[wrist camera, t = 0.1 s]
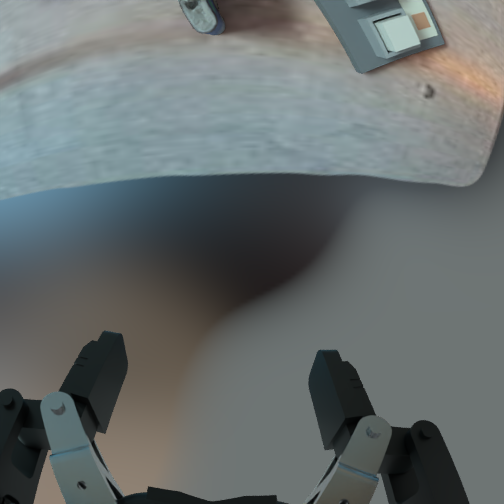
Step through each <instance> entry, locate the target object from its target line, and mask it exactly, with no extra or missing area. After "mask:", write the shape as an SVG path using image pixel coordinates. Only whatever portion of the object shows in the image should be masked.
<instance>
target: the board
mask: <svg viewBox="0 0 504 504" xmlns="http://www.w3.org/2000/svg"><path fill="white" fill-rule="evenodd" d="M314 1H315V3H316V4H317V6H318V7H319V8H320V10H321V11H322V13H323V15H324V16H325V18H326V19H327V21H328V22H329V24H330V25H331V27H332V29H333V30H334V32H335V34H336V35H337V37H338V39H339V40H340V42H341V44H342V46H343V47H344V49H345V51H346V53H347V55H348V56H349V58H350V60H351V62H352V64H353V66H354V68H355V70H356V72H359V73H361V74H362V73H365V72H367V71H370V70H372V69H374V68H377V67H379V66H382V65H385V64H387V63H390V62H392V61H395V60H398V59H400V58H403V57H406V56H409V55H412V54H415V53H418V52H421V51H424V50H427V49H430V48H433V47H436V46H440V45H443V44H445V43H444V41H443V38H442V35H441V33H440V31H439V28H438V26H437V23H436V21H435V19H434V17H433V14H432V12H431V10H430V8H429V6H428V4H427V2H426V0H314ZM395 15H408V17H409V19H410V21H411V23H412V25H413V27H414V30H415V32H416V34H417V36H418V38H419V41H420V43H421V44H418V45H415V46H412V47H409V48H406V49H403V50H400V51H398V52H394V51H389V50H386V48H385V45H384V43H383V41H382V39H381V37H380V35H379V33H378V32H377V30H376V28H375V26H374V24H373V22H376V21H379V20H382V19H385V18H389V17H392V16H395Z"/></svg>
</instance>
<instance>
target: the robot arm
mask: <svg viewBox="0 0 504 504" xmlns="http://www.w3.org/2000/svg"><path fill="white" fill-rule="evenodd" d="M127 368H128V360H127V356H126V351H125V345H124V340H123V336H122V334H121V333H114V332H110V331H104V332H102V334H101V336H100V338H99V339H98V341H93V340H92V341H91V342H89V343H88V344H87V345H86V346H84V347H83V349H82V350H81V352H80V354H79V355H78V358H77V359H76V361H75V362H74V365H73V366H72V368H71V370H70V371H69V373H68V375H67V377H66V379H65V380H64V382H63V384H62V386H61V388H60V390H59V391H58V392H52V393H50V394H48V395H47V396H45V397H44V398H43V400H28V399H23V397H22V396H21V394H20V393H19V392H18V391H17V390H15V389H5V390H2V391H1V392H0V504H33V503H34V499H35V494H36V490H37V486H38V483H39V479H40V475H41V472H42V468H43V465H44V462H45V458H46V455H47V452H48V450H52V455H50V462H51V466H52V469H53V471H54V474H55V477H56V480H57V482H58V485H59V487H60V490H61V492H62V495H63V497H64V499H65V502H66V504H288V503H284V502H279V501H277V496H276V495H270V496H243V497H238V498H232V499H227V500H221V501H207V500H204V499H200V498H197V497H194V496H191V495H188V494H185V493H182V492H178V491H172V490H165V489H160V488H154V487H148V490H147V492H143V493H136V494H131V495H128V496H124V494H123V492H122V491H121V489H120V488H119V486H118V485H117V483H116V481H115V480H114V478H113V477H112V475H111V473H110V471H109V469H108V467H107V465H106V463H105V461H104V459H103V457H102V455H101V453H100V451H99V448H98V447H97V444H96V442H95V440H94V437H95V434H96V431H97V432H101V433H104V434H105V433H106V430H107V427H108V424H109V421H110V418H111V415H112V412H113V409H114V407H115V404H116V401H117V398H118V395H119V392H120V390H121V387H122V384H123V381H124V379H125V376H126V374H127ZM309 390H310V394H311V398H312V402H313V406H314V409H315V413H316V417H317V421H318V425H319V429H320V433H321V437H322V441H323V445H324V449H325V450H329V449H334V451H335V454H336V455H335V456H334V458H333V459H332V461H331V463H330V464H329V466H328V468H327V470H326V471H325V473H324V474H323V476H322V478H321V479H320V481H319V483H318V484H317V486H316V487H315V489H314V490H313V492H312V493H311V494H310V495H309V497H308V498H307V499H306V501H305V502H304V503H303V504H369V503H370V501H371V498H372V496H373V494H374V492H375V489H376V487H377V485H378V481H379V479H378V478H377V477H376V475H377V473H381V476H382V479H383V483H384V487H385V490H386V494H387V498H388V502H389V504H469V501H468V498H467V495H466V493H465V491H464V487H463V485H462V482H461V480H460V477H459V475H458V472H457V470H456V467H455V465H454V463H453V460H452V458H451V455H450V453H449V451H448V449H447V447H446V444H445V442H444V440H443V437H442V436H441V433H440V431H439V429H438V428H437V426H436V425H434V424H433V423H432V422H430V421H426V420H421V421H418V422H416V423H414V425H413V426H412V427H411V428H401V427H392V426H390V424H389V423H388V422H387V421H386V420H385V419H383V418H382V417H379V416H376V414H375V412H374V410H373V407H372V405H371V402H370V400H369V398H368V396H367V393H366V391H365V389H364V388H363V384H362V382H361V380H360V378H359V375H358V373H357V371H356V369H355V368H354V367H353V366H352V365H351V364H350V363H349V362H348V361H345V362H344V361H342V359H341V357H340V355H339V352H338V351H337V350H319V351H318V352H317V354H316V358H315V360H314V363H313V366H312V369H311V372H310V375H309Z"/></svg>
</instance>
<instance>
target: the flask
mask: <svg viewBox="0 0 504 504" xmlns="http://www.w3.org/2000/svg"><path fill="white" fill-rule="evenodd" d="M178 1H179V4H180V6H181V9H182V10H183V12H184V14H185V16H186V17H187V19H188V21H189V22H190V24H191V25H192V27H193V28H194V29H195V30H196V31H197V32H199V33H205V34H211V35H218V34H221V33H222V32H223V31H224V29H225V23H224V19H223V17H221V16H220V13H219V10H218V9H219V7H218V4H217V2H216V1H215V0H178Z"/></svg>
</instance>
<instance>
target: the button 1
mask: <svg viewBox="0 0 504 504" xmlns="http://www.w3.org/2000/svg"><path fill="white" fill-rule="evenodd" d="M373 24H374V26H375V28H376V30H377V32H378V33H379V35H380V37H381V39H382V41H383V43H384V45H385V48H386V50H389V51H394V52H398V51H400V50H403V49H406V48H409V47H412V46H415V45H418V44H421V43H420V41H419V38H418V36H417V34H416V32H415V30H414V27H413V25H412V23H411V21H410V19H409V17H408V15H395V16H392V17H389V18H385V19H382V20H379V21H376V22H373Z"/></svg>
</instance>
